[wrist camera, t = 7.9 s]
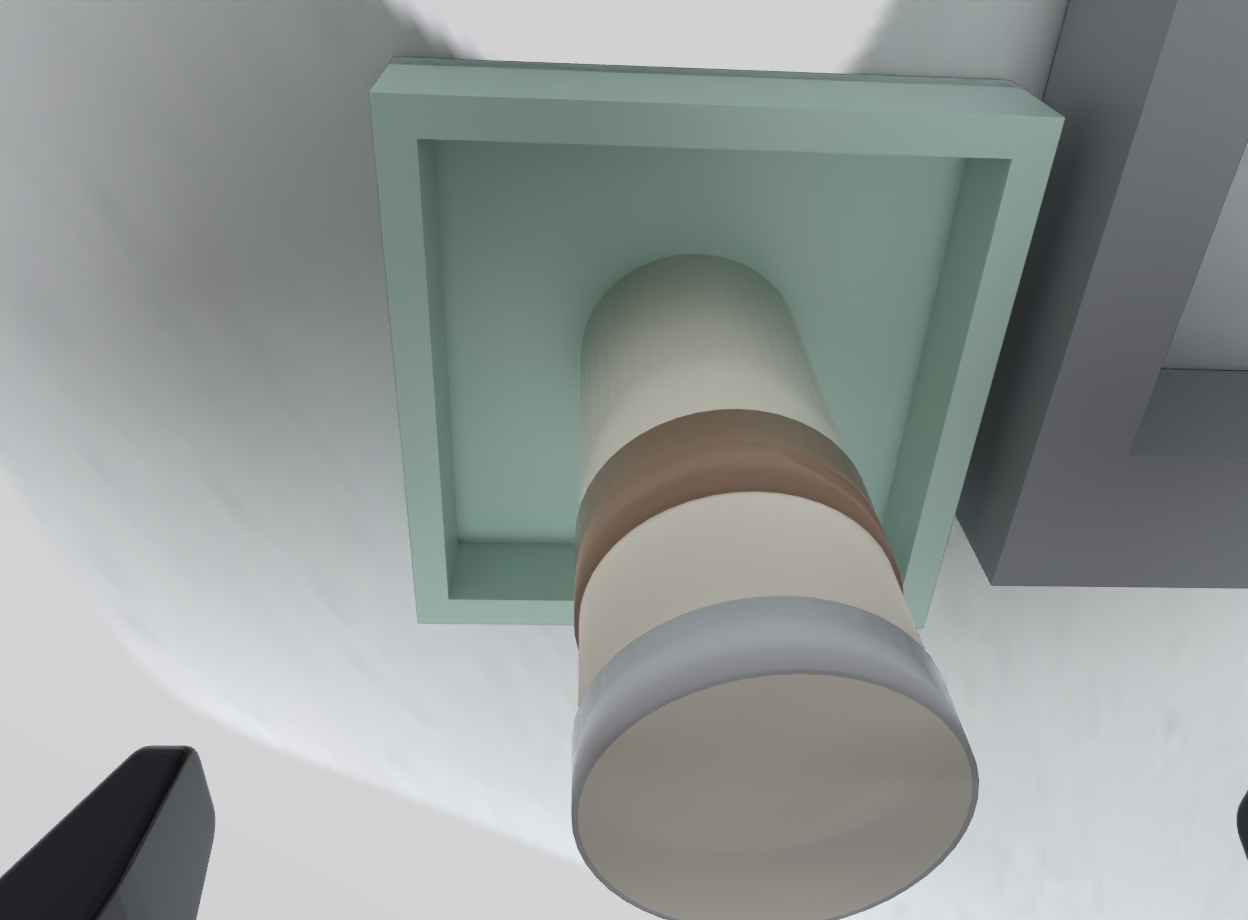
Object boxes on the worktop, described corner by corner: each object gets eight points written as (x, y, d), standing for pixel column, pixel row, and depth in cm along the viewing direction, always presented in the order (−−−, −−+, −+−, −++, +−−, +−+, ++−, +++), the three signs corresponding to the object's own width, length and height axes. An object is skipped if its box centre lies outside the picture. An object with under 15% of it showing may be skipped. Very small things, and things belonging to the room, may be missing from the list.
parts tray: (894, 556, 18) (922, 627, 16) (432, 550, 17) (417, 623, 16) (1011, 79, 13) (1064, 117, 12) (393, 57, 13) (368, 92, 11)
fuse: (785, 452, 16) (931, 931, 9) (575, 449, 16) (569, 933, 9) (816, 253, 14) (1026, 670, 7) (579, 246, 14) (575, 666, 7)
